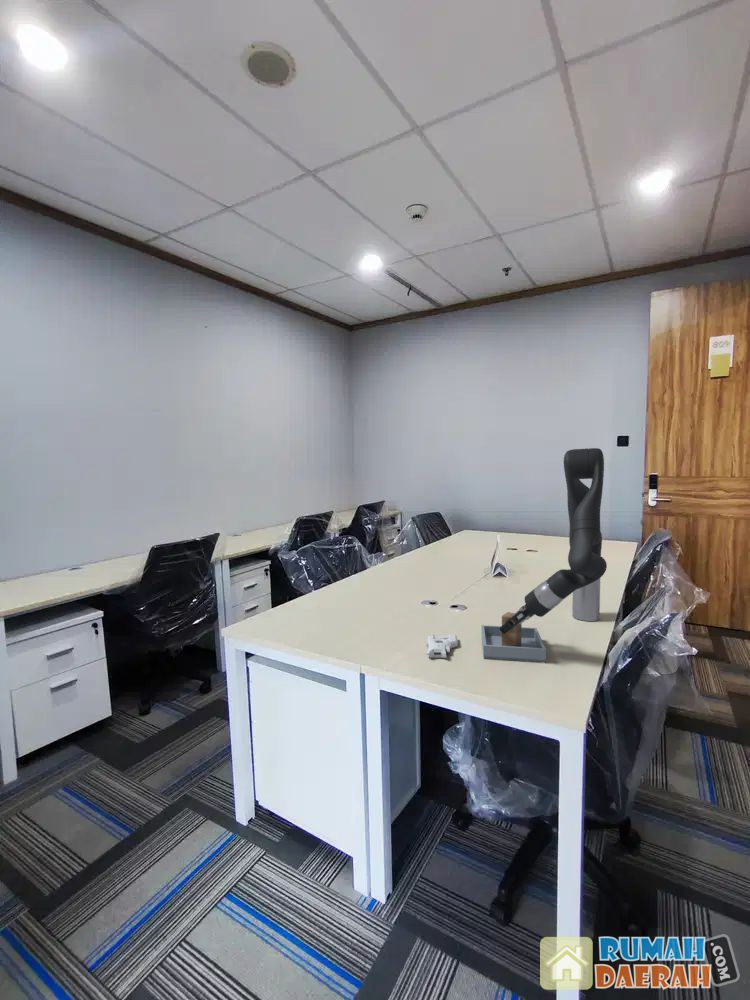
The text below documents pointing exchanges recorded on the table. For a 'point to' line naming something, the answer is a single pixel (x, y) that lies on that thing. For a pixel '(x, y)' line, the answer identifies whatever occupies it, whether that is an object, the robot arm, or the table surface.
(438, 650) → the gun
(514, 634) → the handle block
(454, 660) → the table surface
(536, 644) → the box
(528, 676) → the table surface
